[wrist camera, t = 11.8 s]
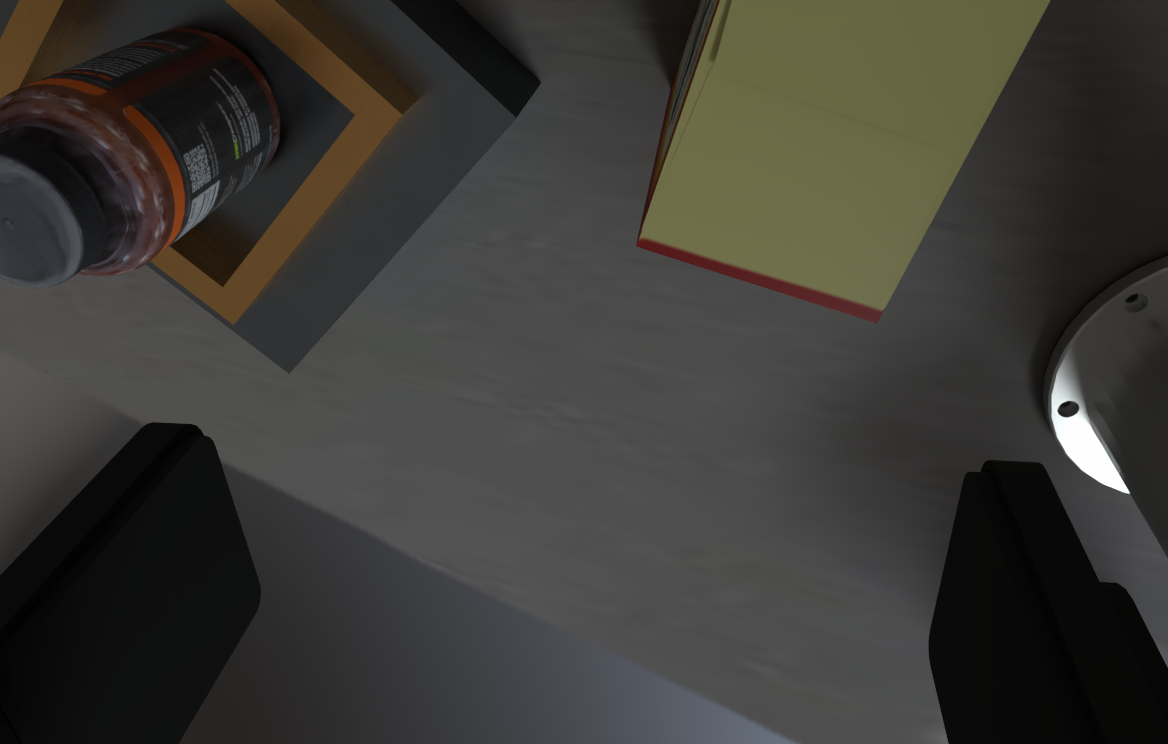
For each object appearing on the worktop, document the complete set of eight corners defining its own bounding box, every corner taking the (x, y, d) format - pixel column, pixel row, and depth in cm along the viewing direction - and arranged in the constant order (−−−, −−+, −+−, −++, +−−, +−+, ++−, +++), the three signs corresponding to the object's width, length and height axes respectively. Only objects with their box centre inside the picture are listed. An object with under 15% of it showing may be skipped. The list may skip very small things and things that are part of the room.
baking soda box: (824, 138, 36) (879, 330, 23) (670, 88, 36) (634, 252, 23) (937, -119, 31) (1093, -66, 18) (758, -179, 31) (779, -171, 17)
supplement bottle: (102, 75, 34) (-146, 177, 24) (213, -9, 32) (-13, 67, 22) (209, 208, 36) (21, 349, 27) (318, 139, 34) (156, 265, 24)
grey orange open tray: (541, 82, 37) (504, 134, 31) (331, 320, 44) (269, 398, 38) (61, -376, 31) (-98, -421, 25) (-87, -12, 38) (-236, 21, 32)
